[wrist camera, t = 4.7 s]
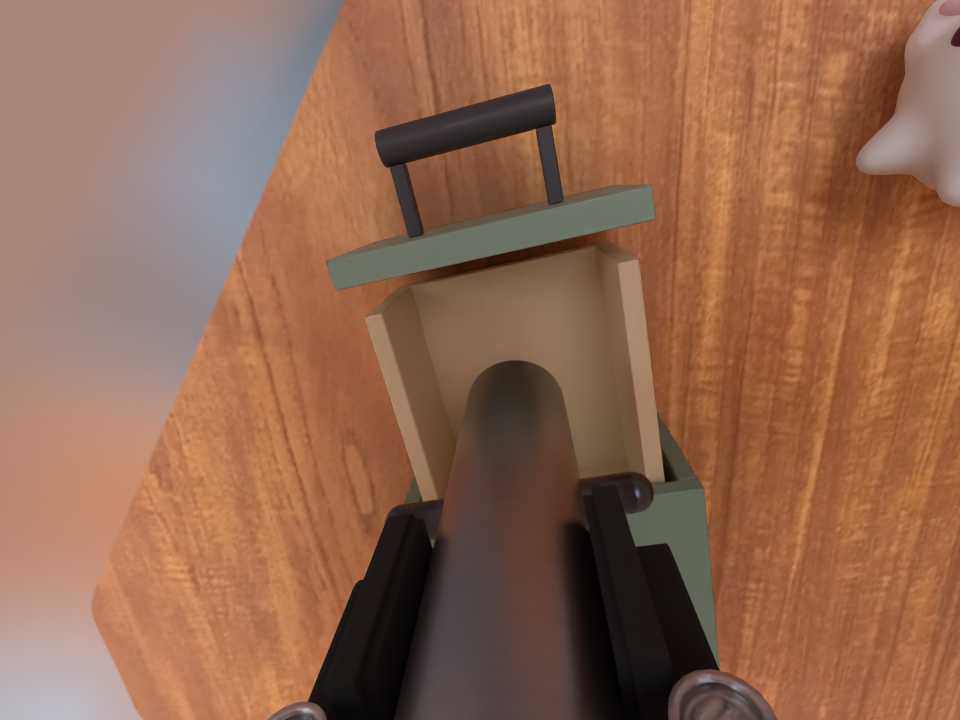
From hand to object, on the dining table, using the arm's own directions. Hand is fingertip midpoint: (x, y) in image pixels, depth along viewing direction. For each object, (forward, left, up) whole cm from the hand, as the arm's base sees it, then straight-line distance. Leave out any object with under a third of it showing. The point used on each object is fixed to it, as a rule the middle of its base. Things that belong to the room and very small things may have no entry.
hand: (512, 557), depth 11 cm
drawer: (-1, +1, -16) cm, 16 cm away
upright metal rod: (0, 0, -8) cm, 8 cm away
